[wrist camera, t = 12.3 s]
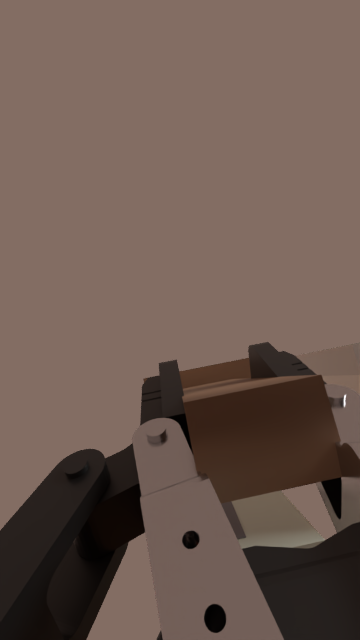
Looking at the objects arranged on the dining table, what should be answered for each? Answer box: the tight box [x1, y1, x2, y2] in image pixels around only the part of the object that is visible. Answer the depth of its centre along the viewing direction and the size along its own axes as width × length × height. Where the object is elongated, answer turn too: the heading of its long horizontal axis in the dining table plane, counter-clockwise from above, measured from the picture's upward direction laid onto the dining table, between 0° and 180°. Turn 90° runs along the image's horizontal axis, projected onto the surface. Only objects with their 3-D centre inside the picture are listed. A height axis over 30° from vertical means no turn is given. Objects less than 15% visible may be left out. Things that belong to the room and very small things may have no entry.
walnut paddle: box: [144, 358, 342, 503], centre depth 15 cm, size 18×7×3 cm, turn 0°
